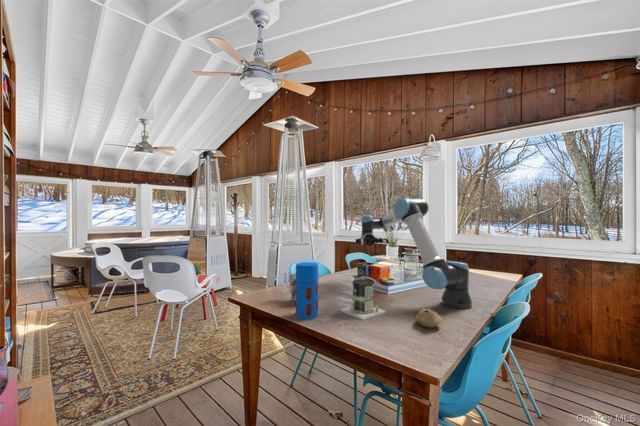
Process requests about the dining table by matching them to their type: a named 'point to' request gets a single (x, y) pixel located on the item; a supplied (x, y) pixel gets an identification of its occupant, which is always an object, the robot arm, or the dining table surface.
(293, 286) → the robotic toy
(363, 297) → the coffee can
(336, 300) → the dining table surface
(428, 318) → the oil lamp
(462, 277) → the robot arm
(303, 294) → the thermos
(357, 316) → the pin jig
